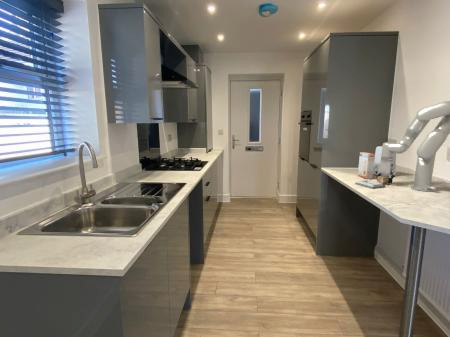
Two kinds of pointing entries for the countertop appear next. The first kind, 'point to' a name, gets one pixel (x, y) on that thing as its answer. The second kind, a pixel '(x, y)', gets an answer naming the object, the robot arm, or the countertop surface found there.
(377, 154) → the plastic bottle
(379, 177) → the oak block
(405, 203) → the countertop surface
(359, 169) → the cracker box
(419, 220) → the countertop surface
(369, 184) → the locator board
